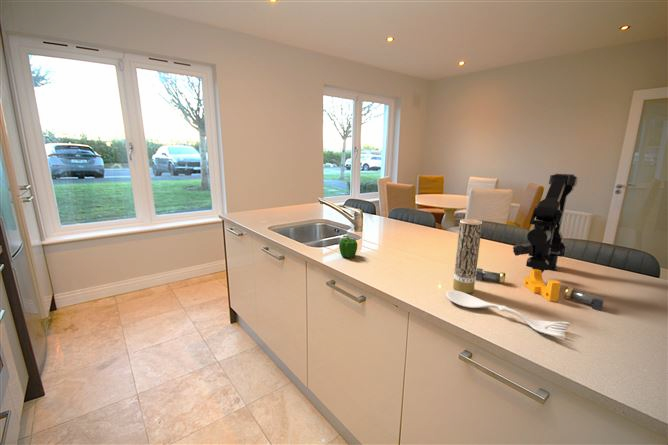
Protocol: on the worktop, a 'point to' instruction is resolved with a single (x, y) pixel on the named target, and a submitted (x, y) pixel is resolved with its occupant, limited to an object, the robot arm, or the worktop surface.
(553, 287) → the pipe clamp
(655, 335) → the worktop surface
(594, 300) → the shaft
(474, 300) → the white plastic spork
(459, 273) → the paper tube
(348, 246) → the bell pepper
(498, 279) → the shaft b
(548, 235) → the robot arm
